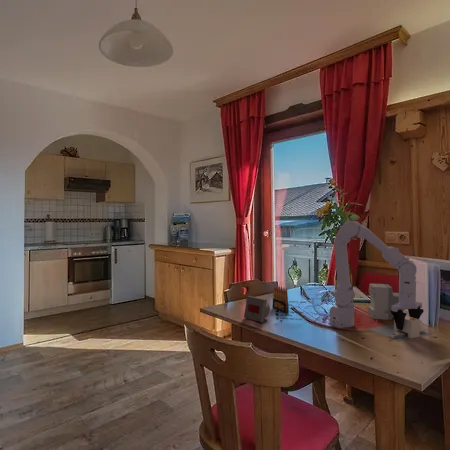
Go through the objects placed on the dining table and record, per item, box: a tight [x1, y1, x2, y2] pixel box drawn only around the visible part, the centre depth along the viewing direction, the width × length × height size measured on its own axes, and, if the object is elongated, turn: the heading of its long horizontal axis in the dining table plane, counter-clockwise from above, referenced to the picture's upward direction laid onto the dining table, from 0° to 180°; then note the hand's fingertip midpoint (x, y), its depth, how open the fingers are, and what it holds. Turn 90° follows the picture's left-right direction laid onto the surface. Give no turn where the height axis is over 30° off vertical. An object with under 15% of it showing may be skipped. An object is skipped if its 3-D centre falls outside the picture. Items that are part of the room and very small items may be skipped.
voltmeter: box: [243, 295, 306, 323], centre depth 146 cm, size 27×11×10 cm, turn 82°
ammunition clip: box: [271, 284, 290, 315], centre depth 161 cm, size 11×2×12 cm, turn 28°
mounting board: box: [367, 324, 432, 342], centre depth 129 cm, size 18×14×1 cm
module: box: [393, 315, 421, 339], centre depth 126 cm, size 4×7×7 cm, turn 24°
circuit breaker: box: [367, 283, 404, 321], centre depth 148 cm, size 8×14×15 cm, turn 78°
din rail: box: [387, 328, 426, 340], centre depth 126 cm, size 17×3×1 cm, turn 114°
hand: (406, 328), depth 126 cm, fingers open, 7 cm apart
